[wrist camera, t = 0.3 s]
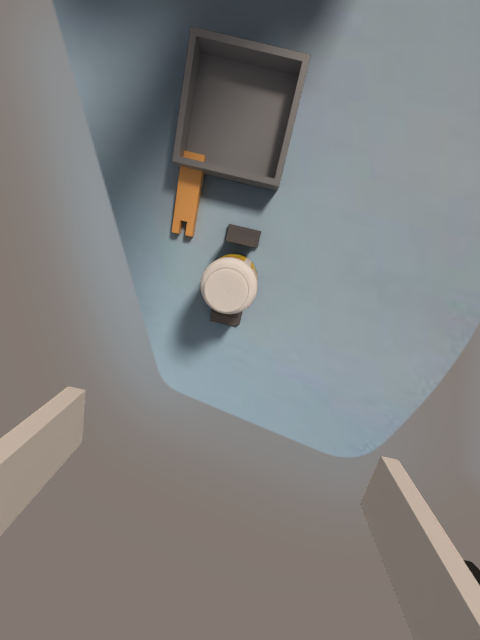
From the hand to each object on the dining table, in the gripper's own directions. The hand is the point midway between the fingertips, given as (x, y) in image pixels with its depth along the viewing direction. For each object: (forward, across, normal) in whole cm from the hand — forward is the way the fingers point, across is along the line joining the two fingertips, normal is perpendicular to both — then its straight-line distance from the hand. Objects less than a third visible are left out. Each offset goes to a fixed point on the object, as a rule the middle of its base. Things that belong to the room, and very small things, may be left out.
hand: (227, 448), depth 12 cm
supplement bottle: (+24, -2, +4) cm, 25 cm away
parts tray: (+24, -5, +20) cm, 32 cm away
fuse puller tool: (+25, -9, +13) cm, 29 cm away
